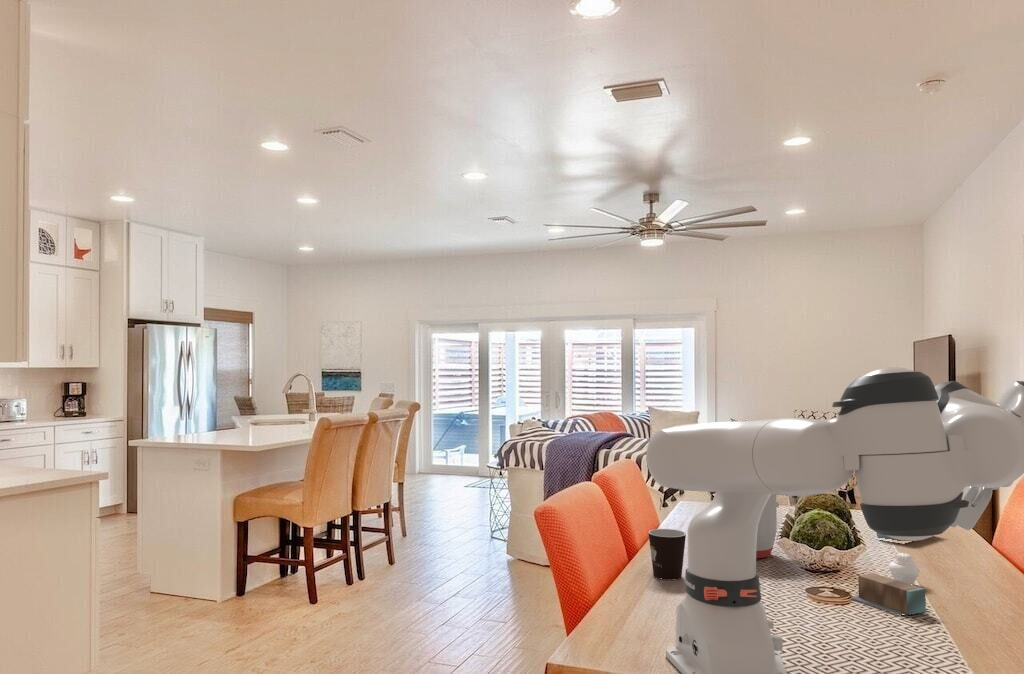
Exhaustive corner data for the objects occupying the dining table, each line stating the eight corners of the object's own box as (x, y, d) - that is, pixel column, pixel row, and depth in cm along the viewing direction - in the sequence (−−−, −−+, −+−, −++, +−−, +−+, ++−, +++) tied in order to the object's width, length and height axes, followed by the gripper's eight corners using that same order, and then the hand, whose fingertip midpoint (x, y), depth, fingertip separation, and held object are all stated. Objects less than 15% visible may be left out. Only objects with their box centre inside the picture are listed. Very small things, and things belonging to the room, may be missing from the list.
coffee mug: (687, 582, 165) (686, 537, 166) (648, 580, 167) (648, 536, 167) (685, 568, 176) (685, 527, 177) (649, 566, 178) (648, 525, 179)
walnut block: (925, 588, 144) (873, 573, 155) (909, 591, 143) (858, 575, 154) (925, 611, 144) (874, 594, 155) (909, 614, 142) (858, 597, 153)
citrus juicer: (797, 558, 187) (795, 479, 188) (742, 564, 180) (741, 483, 181) (755, 544, 201) (754, 471, 202) (703, 550, 195) (702, 474, 196)
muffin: (902, 579, 168) (902, 548, 168) (926, 586, 162) (925, 554, 163) (882, 581, 166) (882, 550, 166) (906, 589, 160) (905, 557, 160)
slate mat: (928, 611, 146) (928, 609, 146) (899, 616, 143) (899, 614, 143) (876, 594, 157) (876, 592, 157) (849, 598, 154) (849, 597, 154)
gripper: (1007, 497, 120) (963, 559, 126) (1010, 451, 136) (972, 507, 142) (966, 477, 122) (925, 538, 129) (974, 434, 138) (938, 490, 145)
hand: (950, 522), depth 135 cm, fingers closed
